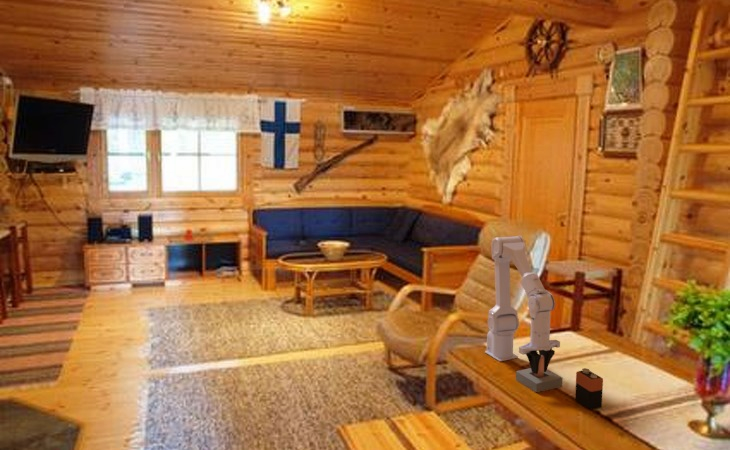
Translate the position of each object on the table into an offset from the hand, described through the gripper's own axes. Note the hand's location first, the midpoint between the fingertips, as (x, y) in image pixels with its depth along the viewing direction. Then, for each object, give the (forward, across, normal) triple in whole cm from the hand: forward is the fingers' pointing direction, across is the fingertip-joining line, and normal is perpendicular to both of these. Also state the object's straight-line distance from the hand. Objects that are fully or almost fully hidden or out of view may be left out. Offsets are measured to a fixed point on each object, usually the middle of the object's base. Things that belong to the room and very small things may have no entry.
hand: (538, 371), depth 176 cm
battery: (+4, +4, -17) cm, 18 cm away
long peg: (+2, 0, 0) cm, 2 cm away
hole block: (+4, 0, 0) cm, 4 cm away
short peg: (+4, +6, +9) cm, 11 cm away
